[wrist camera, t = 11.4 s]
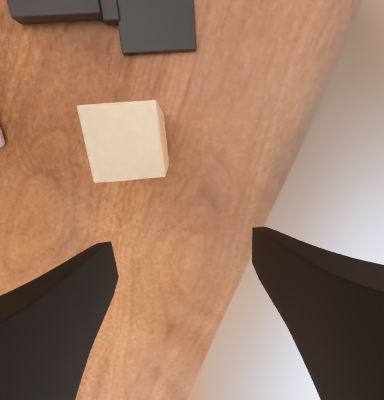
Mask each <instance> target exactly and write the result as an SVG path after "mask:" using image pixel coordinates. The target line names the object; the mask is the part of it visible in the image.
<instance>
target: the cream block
mask: <svg viewBox="0 0 384 400" xmlns="http://www.w3.org/2000/svg"><path fill="white" fill-rule="evenodd" d="M77 110H78V114H79V119H80V123H81V127H82V132H83V136H84V141H85V145H86V150H87V154H88V159H89V163H90V168H91V172H92V177H93V181H94V183H101V182H113V181H124V180H136V179H148V178H159V177H165V175H166V172H167V169H168V167H169V157H168V148H167V139H166V129H165V120H164V113H163V111H162V110H161V108H160V106H159V104H158V103H157V101H156V100H143V101H129V102H115V103H100V104H86V105H78V106H77Z"/></svg>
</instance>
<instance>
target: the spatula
mask: <svg viewBox="0 0 384 400" xmlns="http://www.w3.org/2000/svg"><path fill="white" fill-rule="evenodd" d="M7 3H8V6H9V10H10V13H11V17H12V18H13V19H15V20H16V21H17V22H19V23H20V24H33V23H52V22H70V21H89V20H103V21H104V22H105V24H118V26H119V33H120V39H121V46H122V52H123V54H124V55H135V54H152V53H168V52H184V51H196V36H195V19H194V2H193V0H7Z"/></svg>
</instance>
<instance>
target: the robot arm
mask: <svg viewBox="0 0 384 400" xmlns="http://www.w3.org/2000/svg"><path fill="white" fill-rule="evenodd" d="M4 144H5V140H4V137H3V134H2V131H1V128H0V147H2V146H4ZM252 263H253V266H254V268H255V270H256V273H257V275H258V277H259V280H260V281H261V283H262V285H263V287H264V288H265V290H266V291H267V293H268V295H269V297H270V298H271V300H272V302H273V303H274V305H275V307H276V308H277V310H278V312H279V313H280V315H281V317H282V318H283V320H284V322H285V324H286V325H287V327H288V329H289V331H290V333H291V335H292V337H293V339H294V341H295V343H296V345H297V348H298V350H299V352H300V354H301V356H302V358H303V361H304V363H305V365H306V367H307V369H308V372H309V374H310V376H311V378H312V380H313V382H314V385H315V387H316V390H317V392H318V394H319V397H320V399H321V400H384V265H381V264H377V263H372V262H367V261H363V260H359V259H355V258H351V257H348V256H344V255H341V254H337V253H334V252H330V251H327V250H324V249H321V248H319V247H316V246H313V245H310V244H308V243H305V242H302V241H300V240H297V239H295V238H292V237H290V236H288V235H285V234H283V233H280V232H278V231H276V230H273V229H270V228H267V227H257V228H253V233H252ZM118 277H119V276H118V272H117V267H116V262H115V258H114V253H113V248H112V244H111V242H103V243H98V244H95V245H93V246H91V247H90V248H88V249H86V250H84V251H83V252H81V253H79V254H78V255H76V256H74V257H73V258H71V259H69V260H68V261H66V262H64V263H63V264H61V265H59V266H57V267H56V268H54V269H52V270H50V271H49V272H47V273H45V274H43V275H42V276H40V277H38V278H36V279H34V280H32V281H30V282H28V283H26V284H24V285H22V286H20V287H18V288H16V289H14V290H12V291H10V292H8V293H6V294H3V295H1V296H0V400H75V398H76V395H77V391H78V388H79V385H80V381H81V378H82V375H83V372H84V369H85V366H86V363H87V359H88V356H89V353H90V351H91V348H92V345H93V343H94V340H95V338H96V336H97V333H98V331H99V329H100V326H101V324H102V322H103V319H104V317H105V315H106V312H107V310H108V307H109V305H110V303H111V300H112V298H113V295H114V292H115V288H116V285H117V281H118Z"/></svg>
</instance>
